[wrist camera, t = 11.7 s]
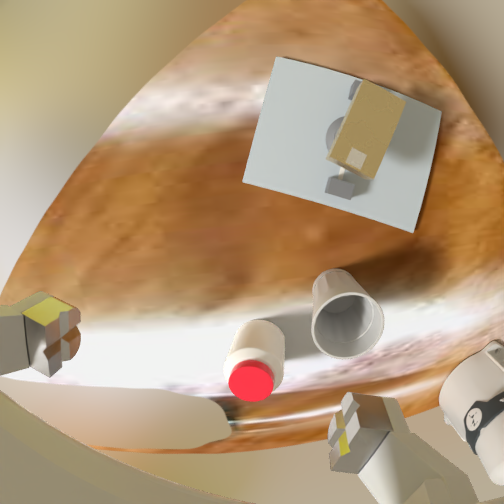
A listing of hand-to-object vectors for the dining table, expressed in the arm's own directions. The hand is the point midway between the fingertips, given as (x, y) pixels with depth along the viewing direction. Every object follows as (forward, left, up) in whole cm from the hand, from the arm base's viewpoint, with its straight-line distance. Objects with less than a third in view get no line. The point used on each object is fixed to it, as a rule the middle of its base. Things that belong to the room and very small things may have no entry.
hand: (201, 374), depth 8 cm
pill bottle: (-3, +18, -35) cm, 40 cm away
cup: (-11, +7, -35) cm, 38 cm away
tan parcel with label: (-7, -13, -28) cm, 31 cm away
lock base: (-7, -13, -35) cm, 38 cm away
